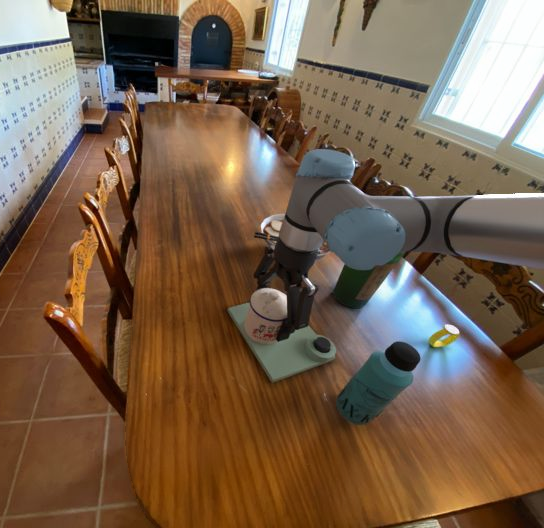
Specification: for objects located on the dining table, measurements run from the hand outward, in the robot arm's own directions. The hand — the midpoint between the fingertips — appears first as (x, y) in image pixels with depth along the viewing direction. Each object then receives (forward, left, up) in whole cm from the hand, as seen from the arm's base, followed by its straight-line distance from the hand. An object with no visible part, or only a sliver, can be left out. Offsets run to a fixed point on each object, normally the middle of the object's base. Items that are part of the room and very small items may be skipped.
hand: (269, 321), depth 67 cm
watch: (-17, -37, -4) cm, 41 cm away
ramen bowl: (+24, -25, -4) cm, 35 cm away
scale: (-2, -2, -3) cm, 4 cm away
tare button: (-9, -7, -1) cm, 12 cm away
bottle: (+2, -28, -4) cm, 28 cm away
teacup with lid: (0, 0, -2) cm, 2 cm away
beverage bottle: (-22, -5, -4) cm, 22 cm away
